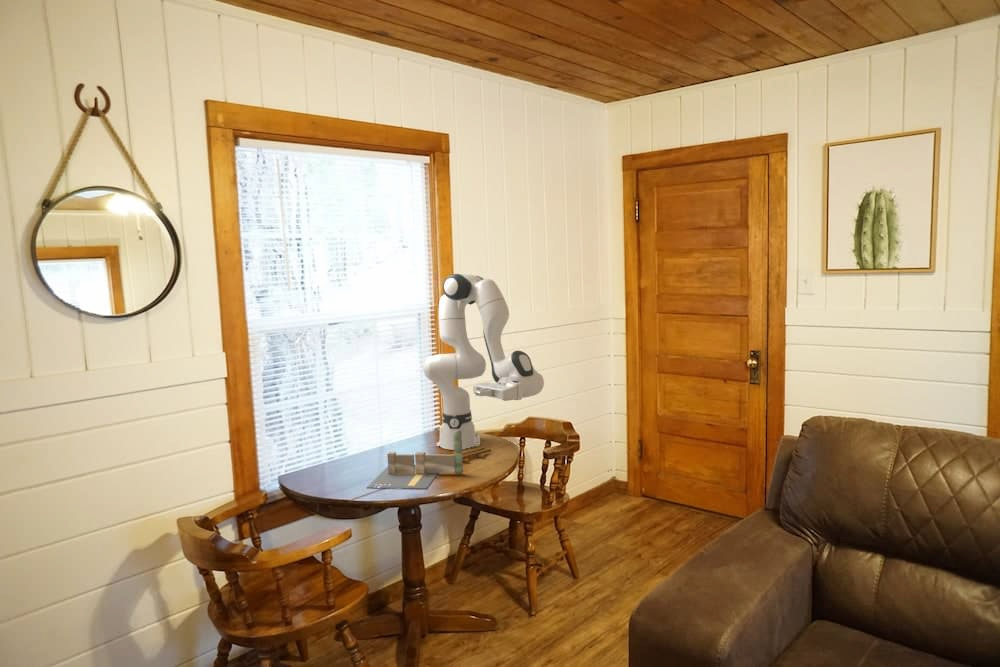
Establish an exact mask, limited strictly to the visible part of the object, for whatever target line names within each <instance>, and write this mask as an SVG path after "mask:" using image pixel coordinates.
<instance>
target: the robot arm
mask: <svg viewBox="0 0 1000 667" xmlns="http://www.w3.org/2000/svg"><path fill="white" fill-rule="evenodd" d="M442 291H443V295H442V296H441V297H440V298H439V304H438V328H439V330H438V332H439V333H438V334H439V339H440V340H441V341H442V342H443V343H444V344H446V345H448V346H451V347H453V348H454V350H455V352H452V353H437V354H433V355H430V356H428V357H426V359H425V360H424V362H423V373H424V375H425V376H426V378H427V380H428V379H429V380H430V381H431V382H433V384H434V385H436V387H437V388H438V390H439V391H440V394H441V397H442V408H443V413H442V424H441V425H440V426H439V440H438V441H437V442H436V443H435V444H436V445H435V446H436V447H439V446H440V448H442V449H444V450H452V451H454V442H453V431H454V430H461V433H462V450H466V448H468V449H471V448H470V447H472V448H474V447H473V446H476V447H478V446H477V445H480V443H481V435H480V434H478V433H476V429H475V425H474V422H473V417H472V411H471V404H470V403H471V402H470V398H471V397H470V394H469V392H468V390H466V389H464V388H462V387H459V385H458V386H457V385H456V384H455V381H457V380H469V379H471V380H472V379H475V378H478V377H482V376H483V374H485V371H486V369H487V368H486V367H487V362H486V360H485V357H484V356H483V355H482V353H480V352H478V351H477V350H476V349H475V348H474V347H473V346H472V343H470V341H469V337H468V333H467V328H466V327H467V325H466V324H467V323H466V322H467V321H466V313H465V311H466V306H467V304H468V305H470V306H471V305H473V304H476V306H477V309H478V311H479V313H480V317H481V321H482V328H483V330H482V334H483V338H484V343H485V346H486V350H487V353H488V357H489V360H490V365H491V375H492V378H493V380H494V381H495V383H492V382H484V383H483V382H482V383H475V384H473V386H472V390H473V394H474V395H475V397H488V398H489V397H490V398H494V399H500V400H502V401H503V402H506V401H507V402H509V401H520V400H523V399H525V398H529V397H533V396H536V395H538V394H539V393H541V392H542V390H543V389H544V386H545V385H544V384H545V381H544V380H545V379H544V377H543V375H542V374H541V373H539V372H538V371H537V370H536V369H535V367H534V366H533V364H532V359H531V357H530V356H529V355H528V354H527V353H526V352H524V351H523V350H522V351H521V350H514V351H513V352H512V353H510V354H509V355H508V356H505V351H504V349H503V345H502V340H501V339H502V338H501V337H502V334H503V330H504V329H505V326H506V325H507V323H508V320H509V318H510V311H509V307H508V304H507V302H506V299H505V298H504V295H503V293H502V291H501V289H500V288H499V287H498V285H497V283H496V281H494V280H492V279H490V278H486V279H485V278H483V277H481V276H479V275H473V274H470V273H469V274H468V273H465V274H464V273H463V274H460V273H453V274H449V275H448V276H447V277H446V278H445V279H444V281H443V283H442ZM429 380H428V381H429Z"/></svg>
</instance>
